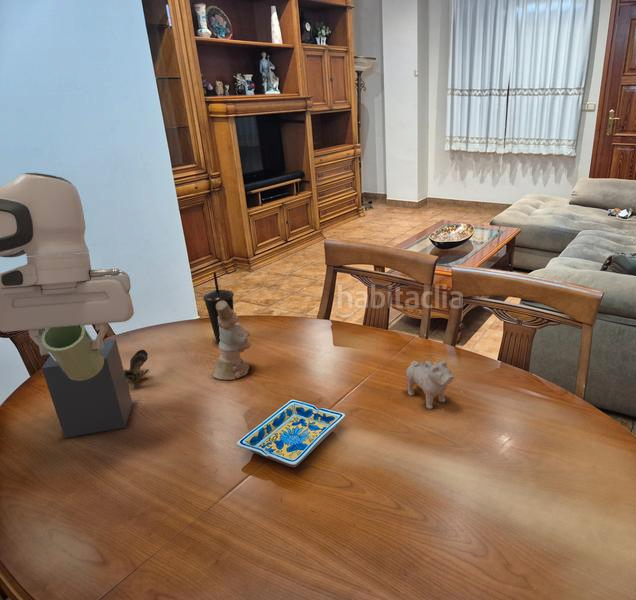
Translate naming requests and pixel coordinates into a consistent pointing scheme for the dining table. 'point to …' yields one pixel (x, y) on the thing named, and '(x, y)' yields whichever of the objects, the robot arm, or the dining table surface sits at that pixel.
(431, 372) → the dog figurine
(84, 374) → the green cup
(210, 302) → the drinking cup
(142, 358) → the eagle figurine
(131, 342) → the dining table surface
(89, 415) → the stand
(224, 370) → the figurine
